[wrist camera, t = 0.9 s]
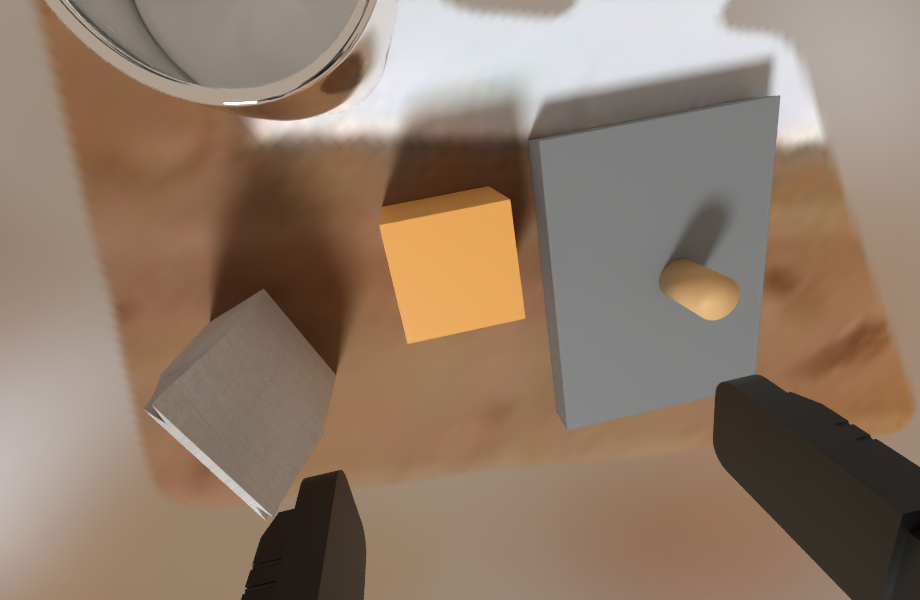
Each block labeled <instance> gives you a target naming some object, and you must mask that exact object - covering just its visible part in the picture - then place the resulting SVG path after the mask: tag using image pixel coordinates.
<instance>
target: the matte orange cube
mask: <svg viewBox="0 0 920 600" xmlns="http://www.w3.org/2000/svg"><path fill="white" fill-rule="evenodd" d="M379 227H380V231H381V235H382V239H383V243H384V247H385V252H386V256H387V260H388V264H389V268H390V272H391V277H392V281H393V285H394V289H395V293H396V297H397V302H398V306H399V310H400V314H401V318H402V322H403V327H404V331H405V335H406V339H407V343H408V344H409V343H414V342H419V341H423V340H428V339H432V338H437V337H442V336H446V335H451V334H456V333H460V332H465V331H469V330H474V329H479V328H483V327H488V326H493V325H497V324H502V323H506V322H511V321H516V320H520V319H525V312H524V304H523V296H522V289H521V281H520V273H519V265H518V257H517V249H516V241H515V233H514V225H513V217H512V209H511V201H510V199H509V198H507V197H505V196H504V195H502V194H501V193H499V192H497V191H496V190H494V189H492V188H491V187H489V186H486V187H481V188H476V189H471V190H466V191H461V192H456V193H450V194H445V195H440V196H435V197H430V198H425V199H420V200H414V201H409V202H404V203H399V204H394V205H389V206H384V207H382V208H381V215H380V223H379Z"/></svg>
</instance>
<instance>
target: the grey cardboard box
mask: <svg viewBox="0 0 920 600" xmlns="http://www.w3.org/2000/svg"><path fill="white" fill-rule="evenodd" d="M335 377H336V375H335V373H334V372H333V371H332V370H331V369H330V367H329V366H328V365H327V364H326V363H325V361H324V360H323V359H322V358H321V357H320V355H319V354H318V353H317V352H316V351H315V349H314V348H313V347H312V346H311V345H310V343H309V342H308V341H307V340H306V339H305V337H304V336H303V335H302V334H301V333H300V331H299V330H298V329H297V328H296V327H295V325H294V324H293V323H292V322H291V321H290V319H289V318H288V317H287V316H286V315H285V313H284V312H283V311H282V310H281V309H280V307H279V306H278V305H277V304H276V303H275V301H274V300H273V299H272V298H271V297H270V296H269V294H268V293H267V292H266V291H265V290H264V289H262V290H260V291H259V292H257V293H256V294H254V295H252V296H251V297H249V298H248V299H246V300H244V301H243V302H241V303H240V304H238V305H236V306H235V307H233V308H232V309H230V310H228V311H227V312H225V313H224V314H222V315H220V316H219V317H217V318H216V319H214V320H212V321H211V322H209V324H208V325H207V326H206V327H205V328H204V329H203V330H202V331H201V332H200V333H199V334H198V335H197V336H196V337H195V339H194V340H193V341H192V342H191V343H190V344H189V345H188V346H187V347H186V348H185V349H184V350H183V351H182V352H181V353H180V355H179V356H178V357H177V358H176V359H175V360H174V361H173V362H172V363H171V364H170V365H169V366H168V367H167V368H166V370H165V371H164V372H163V373H162V374H161V375H160V378H159V381H158V384H157V387H156V390H155V392H154V394H153V396H152V398H151V399H150V401H149V402H148V404H147V405H146V407H145V408H144V410H145V411H146V412H147V413H148V414H149V415H150V416H151V417H152V418H154V419H155V420H156V421H157V422H158V423H159V424H160V425H161V426H162V427H163V428H165V429H166V430H167V431H168V432H169V433H170V434H171V435H172V436H173V437H174V438H176V439H177V440H178V441H179V442H180V443H181V444H182V445H183V446H184V447H185V448H187V449H188V450H189V451H190V452H191V453H192V454H193V455H194V456H195V457H196V458H197V459H199V460H200V461H201V462H202V463H203V464H204V465H205V466H206V467H207V468H208V469H210V470H211V471H212V472H213V473H214V474H215V475H216V476H217V477H218V478H219V479H221V480H222V481H223V482H224V483H225V484H226V485H227V486H228V487H229V488H230V489H232V490H233V491H234V492H235V493H236V494H237V495H238V496H239V497H240V498H241V499H242V500H244V501H245V502H246V503H247V504H248V505H249V506H250V507H251V508H252V509H253V510H255V511H256V512H257V513H258V514H259V515H260V516H261V517H262V518H263V519H264V520H266V521H267V515H268V514H269V515H271V516H272V517H274V516H275V514H276V512H277V509H278V507H279V505H280V503H281V501H282V500H283V498H284V496H285V494H286V493H287V491H288V489H289V488H290V486H291V484H292V482H293V481H294V479H295V477H296V476H297V474H298V473H299V471H300V470H301V468H302V466H303V465H304V463H305V462H306V460H307V459H308V457H309V455H310V454H311V452H312V451H313V449H314V448H315V446H316V445H317V443H318V441H319V440H320V438H321V437H322V435H323V430H324V426H325V421H326V417H327V413H328V408H329V404H330V399H331V395H332V390H333V386H334V382H335Z"/></svg>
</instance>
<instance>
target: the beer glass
mask: <svg viewBox="0 0 920 600" xmlns="http://www.w3.org/2000/svg"><path fill="white" fill-rule="evenodd" d="M43 1H44V2H45V3H46V4H47V6H48V7H49V8H50V9H51V10H52V12H53V13H54V14H55V15H56V16H57V17H58V18H59V20H60V21H61V22H62V23H63V24H64V25H65V26H66V27H67V28H68V29H69V30H70V31H71V32H72V33H73V34H74V35H75V36H76V37H77V38H78V39H79V40H80V41H82V42H83V43H84V44H85V45H86V46H87V47H88V48H90V49H91V50H92V51H93V52H94V53H96V54H97V55H98V56H99V57H101V58H102V59H103V60H105V61H106V62H108V63H109V64H110V65H112V66H113V67H115V68H116V69H118V70H119V71H121V72H122V73H124V74H126V75H127V76H129V77H131V78H133V79H134V80H136V81H138V82H140V83H142V84H144V85H146V86H148V87H150V88H152V89H154V90H157V91H159V92H162V93H164V94H167V95H170V96H172V97H176V98H179V99H182V100H186V101H190V102H194V103H198V104H203V105H205V106H208V107H212V108H215V109H218V110H221V111H224V112H227V113H231V114H235V115H239V116H244V117H250V118H256V119H261V120H270V121H291V120H301V119H308V118H313V117H318V116H321V115H324V114H335V113H341V112H345V111H348V110H350V109H353V108H355V107H357V106H358V105H360V104H361V103H362V102H364V101H365V100H366V99H367V98H368V97H369V96H370V95H371V94H372V92H373V91H374V90H375V88H376V87H377V85H378V83H379V81H380V79H381V77H382V74H383V71H384V68H385V63H386V53H387V51H388V48H389V45H390V42H391V39H392V35H393V30H394V25H395V19H396V13H397V5H398V0H43Z"/></svg>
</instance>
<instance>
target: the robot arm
mask: <svg viewBox="0 0 920 600" xmlns="http://www.w3.org/2000/svg"><path fill="white" fill-rule="evenodd" d="M713 445H714V449H715V452H716V454H717V457H718V459H719V461H720V462H721V464H722V466H723V467H724V468H725V469H726V471H727V472H728V473H729V474H730V475H731V476H732V477H733V478H734V479H735V480H736V481H737V482H738V483H739V484H740V485H741V486H742V487H743V488H744V489H745V490H746V491H747V492H748V493H749V494H750V495H751V496H752V498H753V499H754V500H755V501H756V502H757V503H758V504H759V505H760V506H761V507H762V508H763V509H764V510H765V511H766V512H767V513H768V514H769V515H770V516H771V517H772V518H773V519H774V520H775V521H776V522H777V523H778V524H779V525H780V526H781V527H782V528H783V529H784V530H785V531H786V533H788V534H789V536H790V537H791V538H792V539H793V540H794V541H795V542H796V543H797V544H798V545H799V546H800V547H801V548H802V549H803V550H804V551H805V552H806V553H807V554H808V555H809V556H810V557H811V558H812V559H813V560H814V561H815V562H816V563H817V564H818V565H819V566H820V567H821V568H822V570H823V571H824V572H825V573H826V574H827V575H828V576H829V577H830V578H831V579H832V580H833V581H834V582H835V583H836V584H837V585H838V586H839V587H840V588H841V589H842V590H843V591H844V592H845V593H846V594H847V595H848V596H849V597H850V598H851V599H852V600H920V467H919V466H917V465H916V464H914V463H913V462H911V461H910V460H908V459H907V458H905V457H903V456H902V455H900V454H899V453H897V452H896V451H894V450H893V449H891V448H890V447H888V446H886V445H885V444H883V443H882V442H880V441H879V440H877V439H872V438H871V437H870V435H869V434H868V433H866V432H865V431H863V430H862V429H860V428H859V427H857V426H855V425H854V424H852V425H850V424H849V423H848V420H846V419H845V418H843V417H841V416H840V415H838V414H837V413H835V412H834V411H832V410H831V409H829V408H827V407H826V406H824V405H823V404H821V403H818V402H816V401H813V400H810V399H808V398H805V397H802V396H800V395H797V394H795V393H792V392H789V393H787V392H786V391H784V390H783V389H781V388H780V387H778V386H777V385H775V384H774V383H772V382H771V381H769V380H768V379H766V378H765V377H763V376H761V375H756V374H755V375H750V376H746V377H741V378H737V379H733V380H728V381H724V382H721V383H719V384H718V386H717V387H716V392H715V410H714V429H713ZM252 566H253V569H252V570H251V571H250V573H249V576H248V580H247V583H246V586H245V594H243V595H242V598H241V600H364V585H365V569H366V542H365V535H364V530H363V526H362V522H361V519H360V516H359V514H358V510H357V507H356V505H355V502H354V499H353V496H352V493H351V490H350V487H349V484H348V481H347V478H346V476H345V474H344V472H343V471H342V470H338V471H334V472H329V473H325V474H321V475H317V476H312V477H308V478H305V479H303V481H302V483H301V486H300V490H299V493H298V497H297V502H296V505H295V509H291V510H287V511H283V512H279V513H278V514H277V516H276V517H275V519H274V520H273V521H272V523H271V524H270V526H269V527H268V528H267V530H266V531H265V533H264V534H263V536H262V537H261V539H260V542H259V545H258V548H257V552H256V555H255V558H254V561H253V564H252Z"/></svg>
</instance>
